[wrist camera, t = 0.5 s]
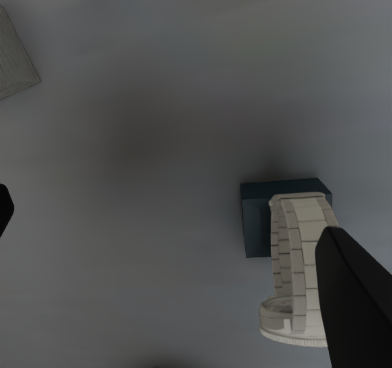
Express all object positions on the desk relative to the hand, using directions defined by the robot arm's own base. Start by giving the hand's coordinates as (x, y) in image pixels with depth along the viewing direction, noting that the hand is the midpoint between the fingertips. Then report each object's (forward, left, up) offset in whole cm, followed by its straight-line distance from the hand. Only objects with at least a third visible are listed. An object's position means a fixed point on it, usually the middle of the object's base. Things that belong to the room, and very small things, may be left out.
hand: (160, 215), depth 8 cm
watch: (-3, -8, -14) cm, 16 cm away
